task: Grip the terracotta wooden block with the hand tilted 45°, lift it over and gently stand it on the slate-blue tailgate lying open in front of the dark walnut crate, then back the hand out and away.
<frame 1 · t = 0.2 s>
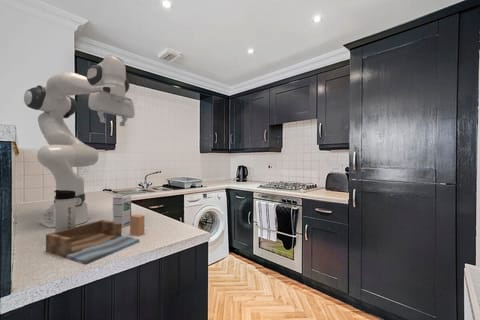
hand: (113, 124, 98), 48 cm above the counter, tool pointing down, fingers open, 8 cm apart
terracotta block: (137, 234, 94), on the counter
crate: (91, 245, 82), on the counter
syrup box: (122, 225, 107), on the counter
travel mug: (65, 240, 87), on the counter
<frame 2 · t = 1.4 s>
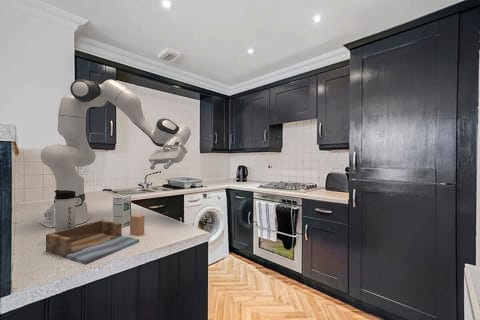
hand: (158, 168, 105), 28 cm above the counter, tool tilted 45°, fingers open, 8 cm apart
nothing on the counter moved.
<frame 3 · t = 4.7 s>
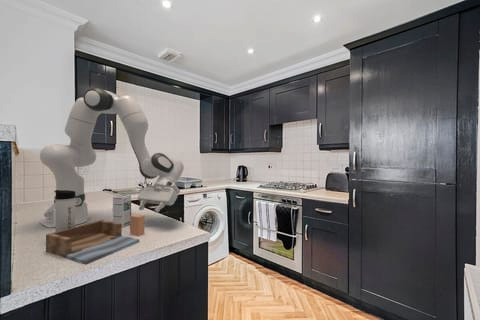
hand: (148, 210, 100), 9 cm above the counter, tool tilted 45°, fingers open, 8 cm apart
nothing on the counter moved.
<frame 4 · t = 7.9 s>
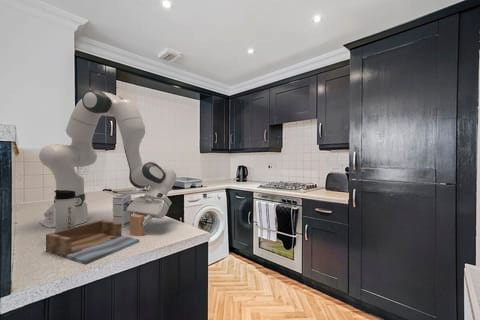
hand: (137, 224, 94), 4 cm above the counter, tool tilted 45°, fingers closed on terracotta block, 5 cm apart
terracotta block: (137, 234, 94), on the counter, touching gripper
everything else where it was.
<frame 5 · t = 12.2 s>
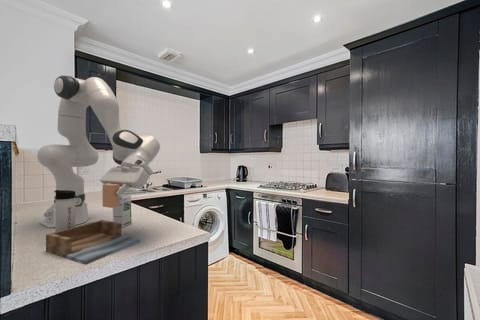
hand: (110, 194, 80), 19 cm above the counter, tool tilted 45°, fingers closed on terracotta block, 5 cm apart
terracotta block: (111, 206, 80), point 15 cm above the counter, touching gripper
everything else where it was.
when the fingers open (6 cm above the counter, at t = 16.5 s): terracotta block stays where it is, resting on crate.
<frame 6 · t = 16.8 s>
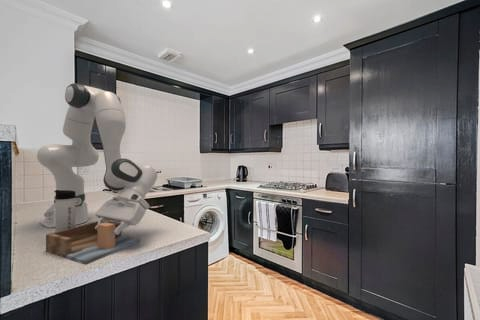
hand: (105, 231, 78), 6 cm above the counter, tool tilted 45°, fingers open, 8 cm apart
terracotta block: (106, 246, 79), point 1 cm above the counter, touching crate
everything else where it was.
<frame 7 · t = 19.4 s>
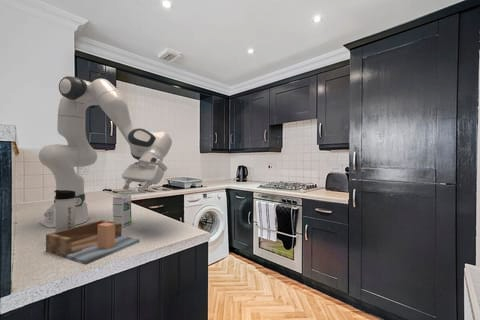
hand: (132, 190, 90), 19 cm above the counter, tool tilted 35°, fingers open, 8 cm apart
nothing on the counter moved.
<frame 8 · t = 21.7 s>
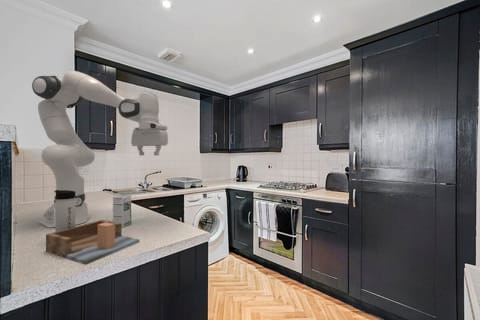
hand: (148, 155, 105), 34 cm above the counter, tool pointing down, fingers open, 8 cm apart
nothing on the counter moved.
at the end: terracotta block inside the target area on the crate (0.1 cm from its centre), point 1.0 cm above the crate's base; terracotta block tilted 0°; the gripper is holding nothing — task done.
